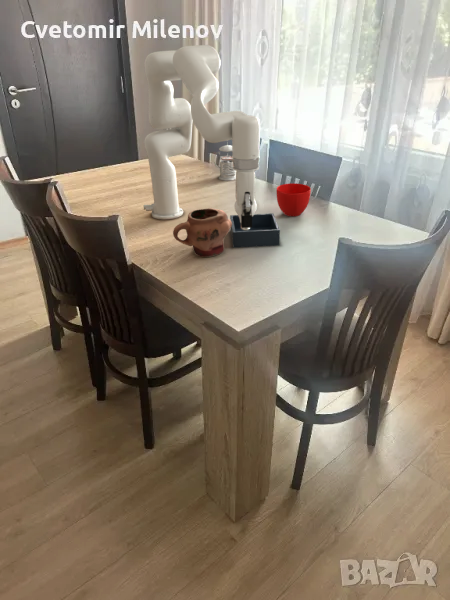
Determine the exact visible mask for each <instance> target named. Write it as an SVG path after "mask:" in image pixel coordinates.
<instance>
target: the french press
mask: <svg viewBox="0 0 450 600" xmlns="http://www.w3.org/2000/svg"><path fill="white" fill-rule="evenodd" d="M218 150H219V151H217V152H216V153H215V154H214V156H213V163H214V166H217V168H218V169H219V176H218V179H219V180H221V181H236V171H235V170H233V157H232V155H229V152H232V145H229V144H228V141H226V145H222V146H220V147H219V148H218ZM221 152H227V155H223V156H221V157H220V160H219V165H217V163H216V160H215V158H216V155H218V154H219V156H220V155H221Z"/></svg>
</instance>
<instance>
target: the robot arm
mask: <svg viewBox="0 0 450 600" xmlns="http://www.w3.org/2000/svg"><path fill="white" fill-rule="evenodd" d="M220 68H221V58H220V55H219V52H218V50H216V48H215V47H213V46H212V45H209V44H199V45H186V46H182V47H180V48H178V49H176V50H173V49H172V50H161V51H154V52H150V53H149V54H148V55H146V57H145V60H144V75H145V79H146V82H147V91H148V94H147V97H148V102H147V104H148V108H147V109H148V122H149V125H150V127H152V128H153V129H154V130H156V131H152V132H150V133H148V134H146V136H145V137H144V140H143V145H144V150H145V153H146V156H147V160H148V165H149V172H150V178H151V186H152V195H153V196H152V197H153V203H151V204H143V210H145V212H151V216H152V218H153V219H158V220H173V219H177V218H179V217H181V216H183V215H184V210H183V208H182V207H180V206H179V205H180V204H179V193H178V182H177V172H176V167H175V165H174V164H173V163H172V162H171V160H170V158H173V157H177V156H181V155H185V154H188V152H189V151H190V150H191V145H192V133H193V125H194V127H195V129H196V130H197V132H198V133H199V134H200V136H201V137H202V139H204V140H205V141H206V142H207V143H211V144H217V143H223V142H228V141H231V143H232V144H231V146H232V151H231V152H232V155H231V156H232V157H233V170H235V171H236V179H235V202H237V205H238V206H240V205H242V215H241V227H242V228H251V227H252V205H253V204H254V199H255V196H256V195H255V193H256V192H255V191H256V171H258V170H259V169H260V148H261V147H260V143H261V141H260V140H261V139H260V137H261V121H260V118H259V117H257V116H255V115H251V114H247V113H245V112H244V111H241V110H231V111H223V112H222V111H221V112H216V113H210V112H209V110H208V109H207V107H206V106H205V105H206V104H208V103H209V102H210V101H211V100H213V99H214V97H216V95H217V93H218V90H219V87H220V86H219V85H220V84H219V80H218V78H216V76H215V75H217V74H218V72H219V71H220ZM172 81H182V83H183V84H184V86H185V87H186V89H187V90H188V92H189V93H190V96H192V98H191V101H188V100H187V99H186V98H184V97H177V98H176V97H175V98H174V85H173V83H172ZM243 202H245V204H243ZM244 207H245V209H244Z"/></svg>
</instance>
